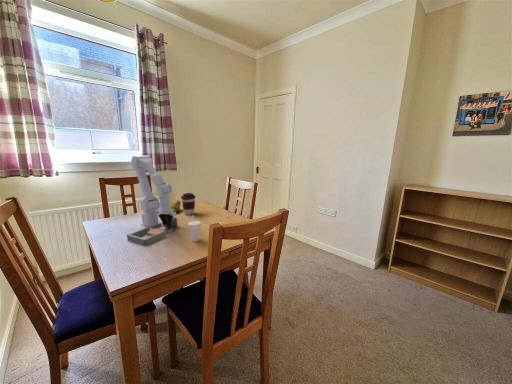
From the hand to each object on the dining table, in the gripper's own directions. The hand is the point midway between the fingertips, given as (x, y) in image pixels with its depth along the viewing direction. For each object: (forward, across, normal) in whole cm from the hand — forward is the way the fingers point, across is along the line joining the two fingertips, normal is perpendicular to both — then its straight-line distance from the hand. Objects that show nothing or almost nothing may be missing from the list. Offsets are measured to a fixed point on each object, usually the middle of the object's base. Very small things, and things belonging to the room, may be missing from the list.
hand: (166, 225), depth 129 cm
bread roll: (+3, -23, +27) cm, 36 cm away
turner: (+2, 0, +1) cm, 3 cm away
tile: (+3, 0, -8) cm, 8 cm away
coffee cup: (+3, -10, +30) cm, 31 cm away
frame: (+2, 0, -13) cm, 14 cm away
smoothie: (+3, +25, -4) cm, 25 cm away
